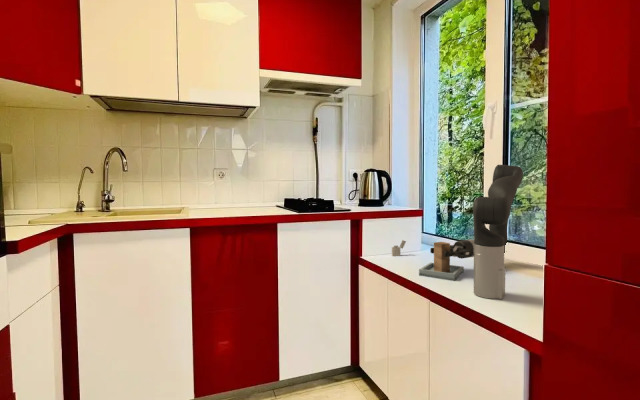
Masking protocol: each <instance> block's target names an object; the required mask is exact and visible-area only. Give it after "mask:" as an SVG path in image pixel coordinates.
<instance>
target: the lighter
mask: <svg viewBox="0 0 640 400" xmlns="http://www.w3.org/2000/svg"><path fill="white" fill-rule="evenodd" d="M406 242H407V241H406V240H404V239H402V240H401V243H400V246H399V245H398V244H397V245H393V247H391V256H392V257H401V249H403V248H404V247H405V244H406Z"/></svg>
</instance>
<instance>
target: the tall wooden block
mask: <svg viewBox="0 0 640 400" xmlns="http://www.w3.org/2000/svg"><path fill="white" fill-rule="evenodd" d="M450 245H451V244H450V243H449V242H445V241H437V242H436V241H435V242H433V248H434V253H433V263H434V271H438V272H446V273H448V272H450V265H451V257H444V252H445V251H450Z"/></svg>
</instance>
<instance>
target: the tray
mask: <svg viewBox="0 0 640 400" xmlns="http://www.w3.org/2000/svg"><path fill="white" fill-rule="evenodd" d="M464 273H465V267H464V266H462V265H461V266H460V265H453V264H450V272H448V273H446V272H438V271H434V262H429V263H427V264H426V265H424V266H422V267H421V268H419V269H418V275H419V276H421V277H427V278H432V279H433V278H434V279H441V280H446V281H452V282H453V281H456V280H457V279H458V278H459V277H460V276H461V275H462V274H464Z"/></svg>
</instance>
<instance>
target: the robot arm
mask: <svg viewBox="0 0 640 400" xmlns="http://www.w3.org/2000/svg"><path fill="white" fill-rule="evenodd" d="M523 178H524V170H523V168H522V167H521V166H517V165H508V164H497V165H496V166H495V167H494V170H493V175H492V183H490V186H489V188H488V191H487V196H478V197H476V198H475V199H474V201H473V205H472V206H473V207H472V215H473V239H463V240H457V241H455V242H454V243H453V244H450V251H445V252H444V257H450V258H451V257H453V258H455V257H456V258H458V259H467V258H473V294H474V295H475V296H478V297H480V298H484V299H491V300H492V299H493V300H494V299H499V300H503V298H504V297H505V294H506V266H505V254H506V253H505V245H506V243H507V241H508V242H509V239H508V232H507V230H508V222H509V219H510V215H511V211H512V210H511V209H512V204H513V202H514V199H515V197H516V196H517V191H518V188H519V187H520V186H521V184H522V181H523ZM486 225H488V228H487V227H486ZM429 253H431V254H434V247H431V248H430V252H429ZM504 253H505V254H504Z"/></svg>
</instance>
